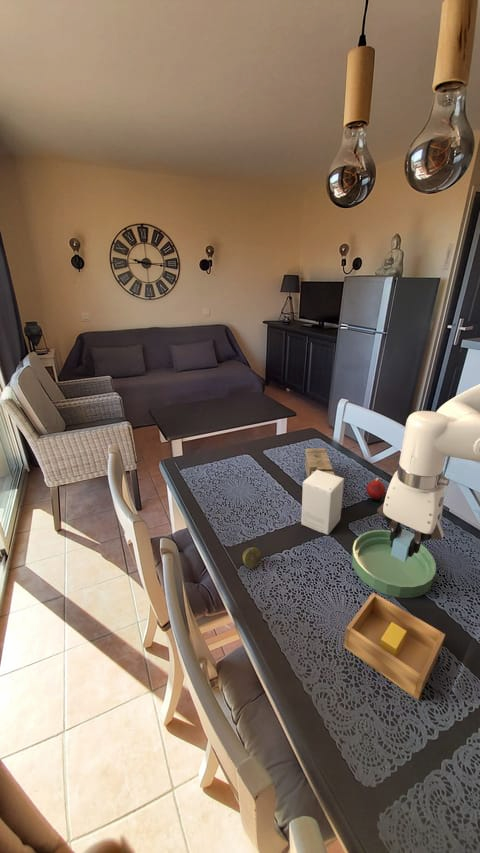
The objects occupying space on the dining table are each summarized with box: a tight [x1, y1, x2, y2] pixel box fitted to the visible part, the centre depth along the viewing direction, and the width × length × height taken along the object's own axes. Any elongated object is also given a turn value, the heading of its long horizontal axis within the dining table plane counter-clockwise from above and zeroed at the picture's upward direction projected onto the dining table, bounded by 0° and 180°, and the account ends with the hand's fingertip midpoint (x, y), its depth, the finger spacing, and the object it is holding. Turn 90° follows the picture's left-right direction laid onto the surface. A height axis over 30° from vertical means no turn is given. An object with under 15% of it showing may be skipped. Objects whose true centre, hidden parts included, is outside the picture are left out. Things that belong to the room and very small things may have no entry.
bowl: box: [351, 529, 437, 599], centre depth 91 cm, size 19×19×4 cm
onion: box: [365, 477, 386, 501], centre depth 117 cm, size 6×6×8 cm
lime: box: [242, 547, 262, 570], centre depth 93 cm, size 4×5×5 cm
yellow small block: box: [380, 622, 407, 657], centre depth 71 cm, size 3×5×4 cm, turn 136°
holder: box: [343, 592, 446, 701], centre depth 71 cm, size 15×12×6 cm
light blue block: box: [391, 528, 414, 562], centre depth 76 cm, size 3×5×4 cm, turn 135°
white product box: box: [300, 470, 345, 536], centre depth 106 cm, size 9×9×15 cm
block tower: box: [304, 447, 336, 479], centre depth 124 cm, size 8×8×29 cm
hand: (403, 548), depth 77 cm, fingers closed on light blue block, 3 cm apart
